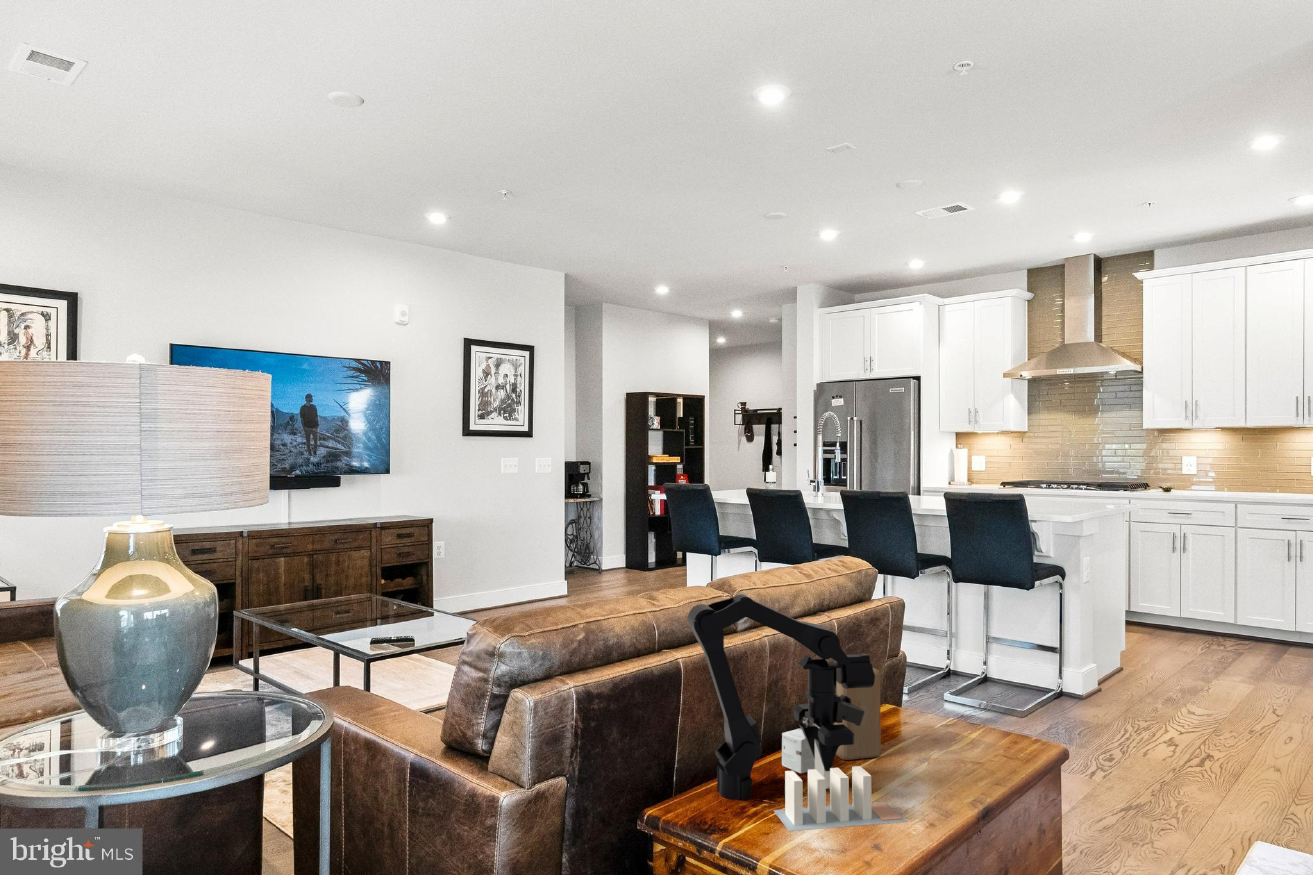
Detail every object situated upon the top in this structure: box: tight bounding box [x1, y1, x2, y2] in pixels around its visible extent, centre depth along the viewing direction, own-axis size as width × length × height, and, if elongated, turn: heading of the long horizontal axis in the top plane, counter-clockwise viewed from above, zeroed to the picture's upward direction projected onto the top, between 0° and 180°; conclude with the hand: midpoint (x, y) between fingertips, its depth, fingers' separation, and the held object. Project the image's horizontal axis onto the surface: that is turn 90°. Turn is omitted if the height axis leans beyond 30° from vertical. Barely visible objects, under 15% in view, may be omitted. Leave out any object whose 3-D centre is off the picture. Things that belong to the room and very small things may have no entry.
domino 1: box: [784, 770, 804, 825], centre depth 153 cm, size 2×5×8 cm, turn 10°
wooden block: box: [833, 667, 882, 761], centre depth 191 cm, size 10×10×20 cm
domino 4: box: [851, 765, 872, 820], centre depth 155 cm, size 2×5×8 cm, turn 10°
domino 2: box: [807, 769, 827, 824], centre depth 153 cm, size 2×5×8 cm, turn 10°
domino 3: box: [829, 767, 850, 822], centre depth 154 cm, size 2×5×8 cm, turn 10°
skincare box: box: [781, 727, 815, 774], centre depth 182 cm, size 6×6×7 cm
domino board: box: [773, 801, 908, 832], centre depth 154 cm, size 23×9×1 cm, turn 100°
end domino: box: [815, 742, 830, 790], centre depth 167 cm, size 2×5×8 cm, turn 10°
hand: (822, 766), depth 167 cm, fingers closed on end domino, 5 cm apart
